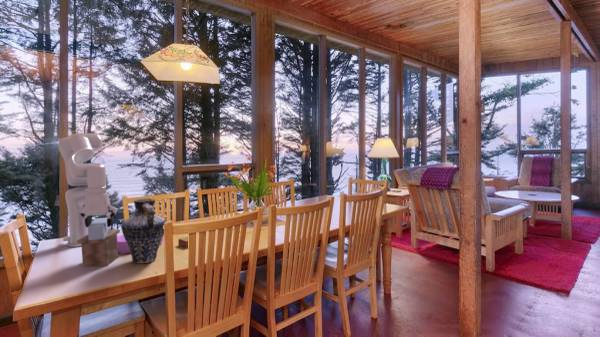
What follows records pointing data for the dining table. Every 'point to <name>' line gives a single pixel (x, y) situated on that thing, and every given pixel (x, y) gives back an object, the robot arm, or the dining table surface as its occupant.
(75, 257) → the dining table surface
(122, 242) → the pink rectangular box
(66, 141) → the robot arm
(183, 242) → the carton
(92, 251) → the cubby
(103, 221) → the block
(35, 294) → the dining table surface
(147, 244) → the jug
